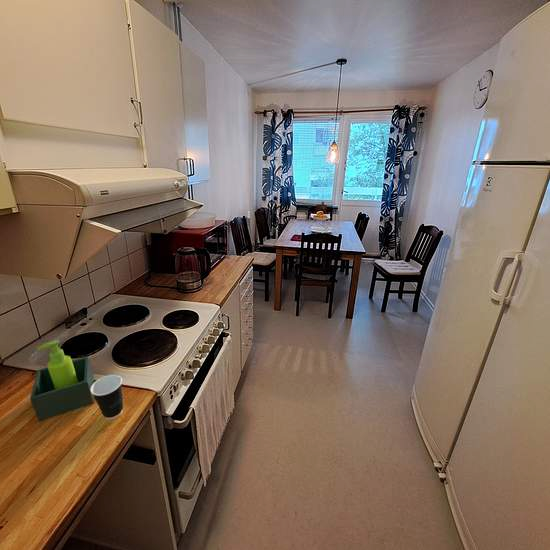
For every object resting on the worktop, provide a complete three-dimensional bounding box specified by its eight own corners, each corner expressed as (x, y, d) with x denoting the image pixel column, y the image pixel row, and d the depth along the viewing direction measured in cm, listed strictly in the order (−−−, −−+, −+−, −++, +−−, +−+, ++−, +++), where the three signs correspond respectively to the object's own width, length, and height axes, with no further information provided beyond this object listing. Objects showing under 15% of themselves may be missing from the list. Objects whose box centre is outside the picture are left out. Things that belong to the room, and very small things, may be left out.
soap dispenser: (52, 396, 90) (33, 344, 82) (78, 385, 95) (62, 334, 87) (57, 407, 86) (37, 353, 79) (83, 394, 91) (67, 342, 83)
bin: (38, 421, 82) (29, 398, 79) (45, 390, 93) (37, 369, 90) (93, 403, 89) (87, 381, 85) (93, 376, 99) (88, 356, 96)
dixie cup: (105, 403, 89) (98, 375, 85) (132, 401, 89) (126, 373, 85) (93, 425, 81) (84, 395, 77) (122, 423, 82) (115, 394, 78)
